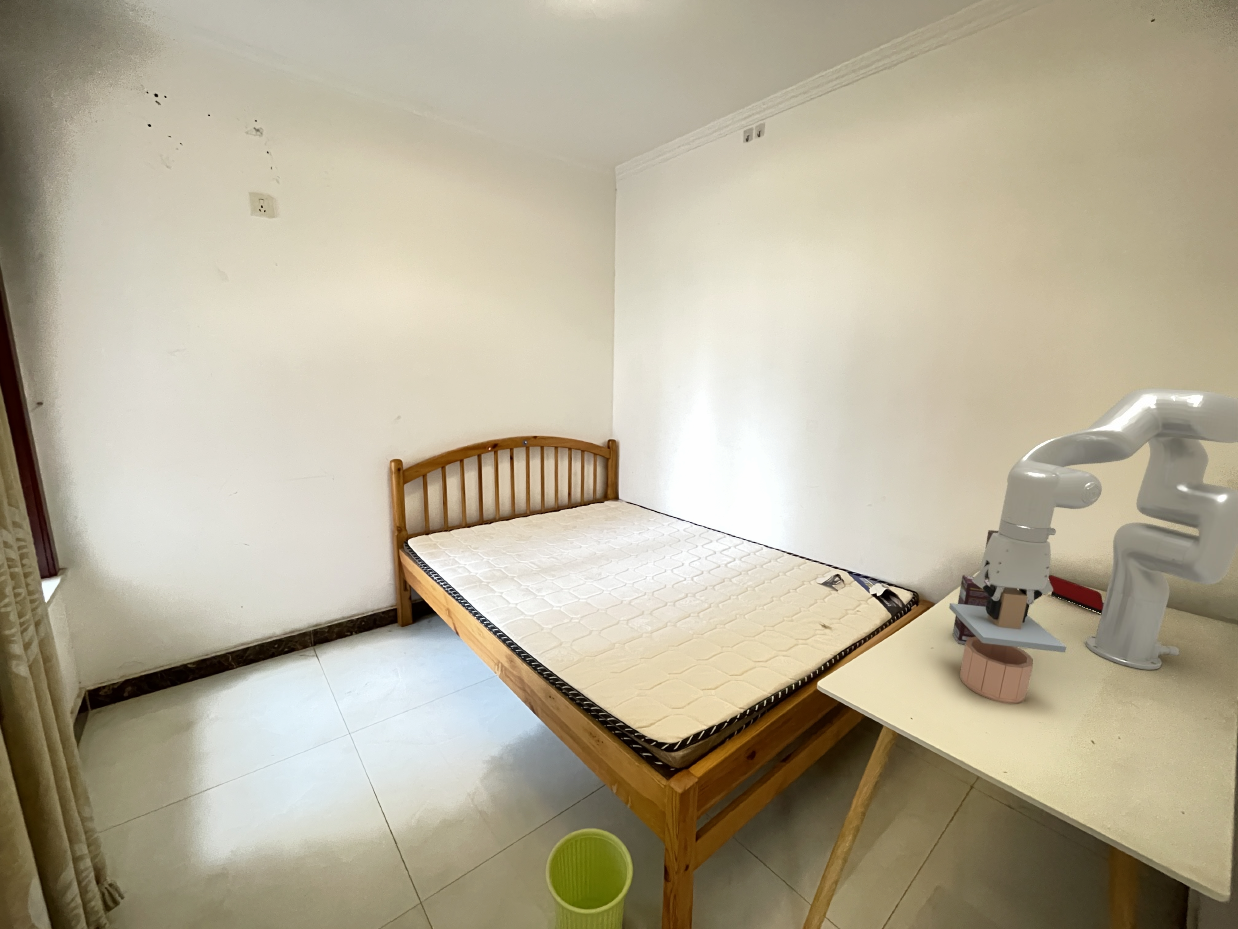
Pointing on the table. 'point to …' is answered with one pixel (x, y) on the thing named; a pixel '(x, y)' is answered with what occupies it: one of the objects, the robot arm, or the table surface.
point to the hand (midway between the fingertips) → (1005, 617)
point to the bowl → (996, 671)
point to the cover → (1007, 624)
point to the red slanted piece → (1076, 594)
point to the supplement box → (968, 596)
